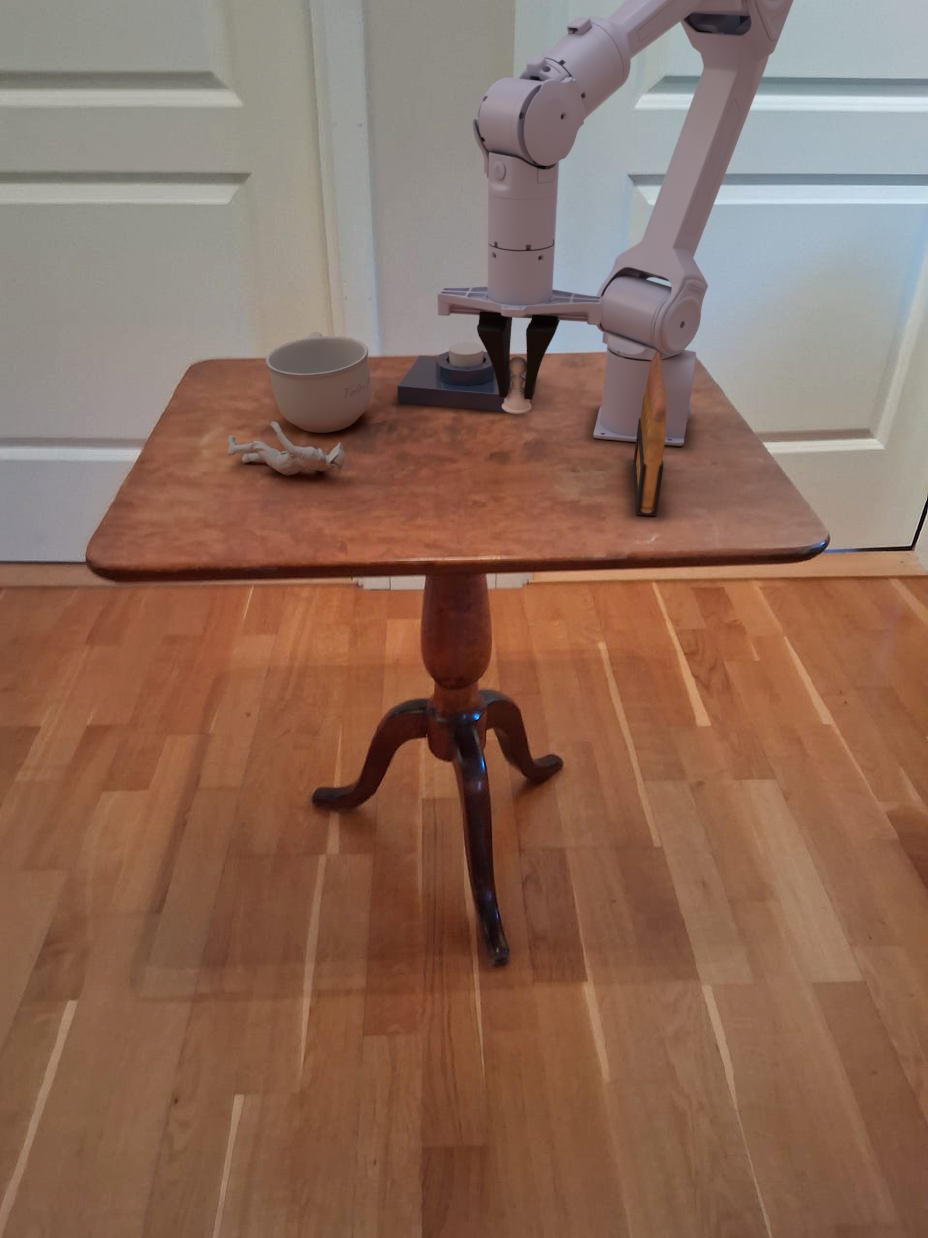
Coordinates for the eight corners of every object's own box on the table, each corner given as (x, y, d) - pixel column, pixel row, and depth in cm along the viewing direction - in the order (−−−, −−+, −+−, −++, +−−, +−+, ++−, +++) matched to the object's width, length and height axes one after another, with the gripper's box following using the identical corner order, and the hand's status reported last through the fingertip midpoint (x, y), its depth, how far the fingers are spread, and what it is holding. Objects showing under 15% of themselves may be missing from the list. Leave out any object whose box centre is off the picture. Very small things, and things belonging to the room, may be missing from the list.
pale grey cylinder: (486, 357, 105) (486, 343, 104) (479, 370, 102) (479, 355, 101) (453, 355, 106) (453, 340, 105) (445, 367, 103) (445, 352, 102)
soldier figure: (264, 456, 95) (363, 435, 90) (263, 499, 94) (362, 481, 89) (216, 428, 88) (320, 404, 83) (214, 474, 87) (319, 453, 82)
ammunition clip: (656, 517, 82) (674, 392, 75) (636, 516, 82) (652, 391, 75) (651, 464, 91) (667, 348, 84) (633, 463, 91) (647, 347, 84)
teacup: (367, 443, 95) (362, 369, 90) (265, 442, 95) (255, 369, 91) (380, 392, 106) (375, 324, 102) (289, 391, 106) (280, 324, 102)
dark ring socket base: (531, 381, 109) (532, 348, 107) (517, 414, 101) (518, 379, 99) (419, 372, 111) (418, 340, 109) (398, 403, 103) (396, 370, 101)
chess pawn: (499, 413, 84) (500, 361, 81) (504, 401, 87) (505, 350, 84) (528, 415, 84) (530, 363, 81) (533, 403, 86) (535, 352, 83)
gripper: (427, 250, 74) (432, 404, 82) (602, 259, 72) (589, 417, 80) (446, 229, 80) (448, 376, 88) (609, 237, 77) (596, 387, 86)
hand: (516, 394), depth 84 cm, fingers closed on chess pawn, 2 cm apart
